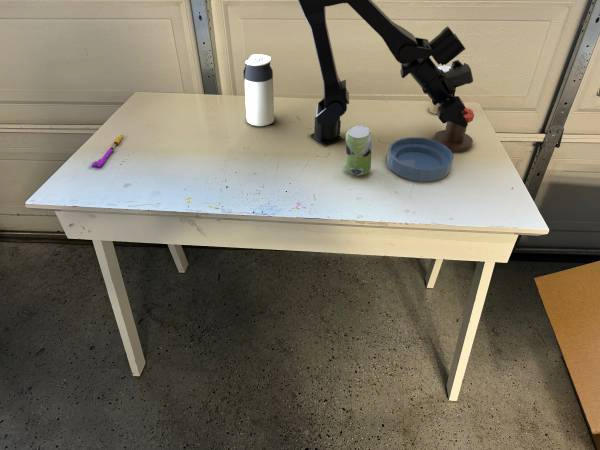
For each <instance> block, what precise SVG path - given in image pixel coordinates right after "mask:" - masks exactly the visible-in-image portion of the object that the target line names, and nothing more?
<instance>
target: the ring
mask: <svg viewBox="0 0 600 450" xmlns="http://www.w3.org/2000/svg"><path fill="white" fill-rule="evenodd" d="M463 115H464V117H465V119H466V121H467V123H468V124H469V123H471V122H473V121H474V117H475V113H474V111H473V110H472V109H471V108H468V107H466V108H465V109H464V113H463Z"/></svg>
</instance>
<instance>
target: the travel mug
mask: <svg viewBox="0 0 600 450" xmlns="http://www.w3.org/2000/svg"><path fill="white" fill-rule="evenodd" d="M271 62H272V58H271V56H269V55H266V54H259V53H257V54H250V55H247V56H245V57H243V63H244V66H245V67H244V69H243V84H244V86H243V87H244V97H245V110H246V122H247V123H248V124H250V125H252V126H255V127H264V126H268V125H269V126H270V124H273V123H274V121H275V104H274V103H275V102H274V75H273V74H274V72H273V68H272V67H271Z"/></svg>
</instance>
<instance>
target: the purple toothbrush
mask: <svg viewBox="0 0 600 450" xmlns="http://www.w3.org/2000/svg"><path fill="white" fill-rule="evenodd" d="M123 137H124V135H123V134H122V135H118V137H117V138H116V139H115V140H114V142H113V144H114V145H113V146H111V147H109V148H108V150H107V151H106V152H105V153H104V155H103V156H102V157H101V158H99V159H97V161H93V163H92V165H91V167H92V168H95V167H97V168H102V167H103V165H104V164H105V163H106V161H107V159H108V158H109V157H110V156H111V154H112V153H113V152H114V149H115V147H116V146H119V145H120V143H121V141H122V140H123Z"/></svg>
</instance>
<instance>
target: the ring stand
mask: <svg viewBox="0 0 600 450" xmlns="http://www.w3.org/2000/svg"><path fill="white" fill-rule="evenodd" d="M462 113H464V110H463V111H462ZM445 124H446V125H445V128H444V129H441V130H439V131H436V133H435V134H434V136H433V140H435V141H438V142H440V143H442V144H444V145H445V146H447V147H448V148H449V149H450V150H451V152H452V153H455V154H457V153H466V152H469V150H470V149H471V148H472V145H473V142H474V141H473V138H472V137H471V136H470V135H469V134H468V133H466V132H467V128H468V126H466V127H462V126H459V125H457V124H454V123H451V122H447V123H445Z"/></svg>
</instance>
